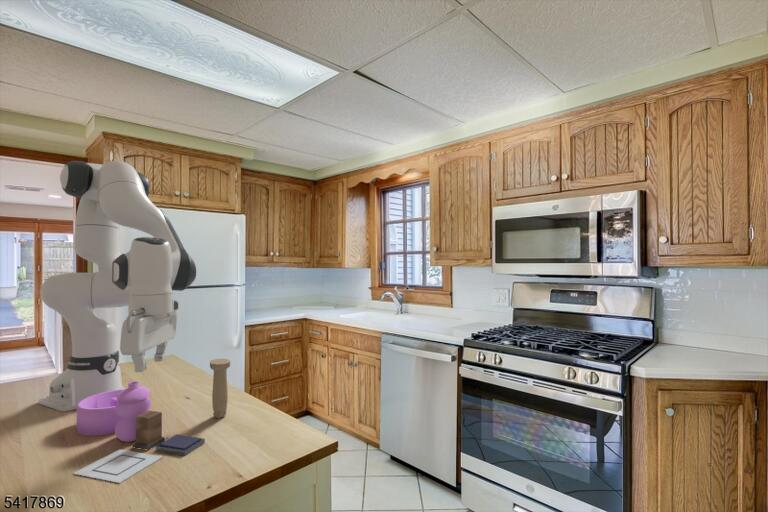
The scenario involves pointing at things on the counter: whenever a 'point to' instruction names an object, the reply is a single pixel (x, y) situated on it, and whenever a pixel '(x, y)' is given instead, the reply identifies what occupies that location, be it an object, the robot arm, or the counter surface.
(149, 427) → the stamp
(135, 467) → the card
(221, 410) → the handle
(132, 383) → the container set
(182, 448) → the ink tin
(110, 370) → the robot arm
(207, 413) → the counter surface
